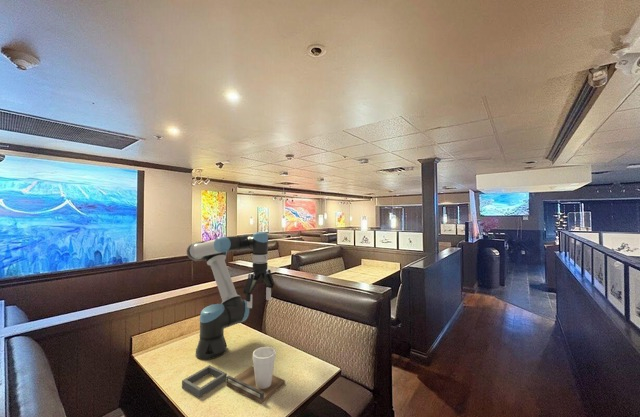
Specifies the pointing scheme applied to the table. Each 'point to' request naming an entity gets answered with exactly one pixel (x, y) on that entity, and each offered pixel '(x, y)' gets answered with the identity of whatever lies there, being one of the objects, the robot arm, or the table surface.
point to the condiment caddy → (200, 392)
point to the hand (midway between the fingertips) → (259, 303)
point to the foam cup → (263, 366)
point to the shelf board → (253, 385)
